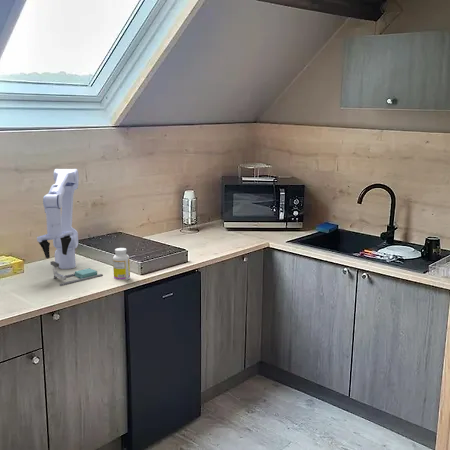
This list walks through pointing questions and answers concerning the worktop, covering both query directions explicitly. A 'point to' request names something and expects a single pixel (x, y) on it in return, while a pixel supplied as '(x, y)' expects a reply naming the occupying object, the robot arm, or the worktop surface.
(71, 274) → the channel
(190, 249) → the worktop surface
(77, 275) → the cover
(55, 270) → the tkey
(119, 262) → the supplement bottle
